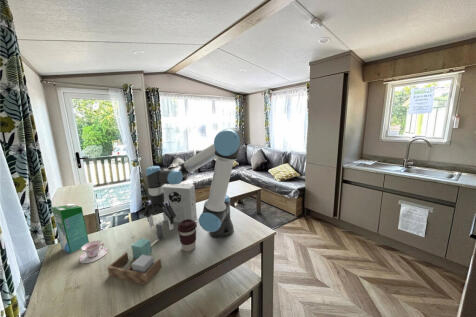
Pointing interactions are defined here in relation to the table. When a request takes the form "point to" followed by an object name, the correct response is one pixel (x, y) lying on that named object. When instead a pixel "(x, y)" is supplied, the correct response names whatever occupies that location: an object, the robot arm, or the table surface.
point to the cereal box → (180, 201)
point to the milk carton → (70, 227)
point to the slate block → (142, 263)
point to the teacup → (92, 251)
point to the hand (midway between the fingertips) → (161, 227)
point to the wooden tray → (132, 275)
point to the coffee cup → (187, 234)
